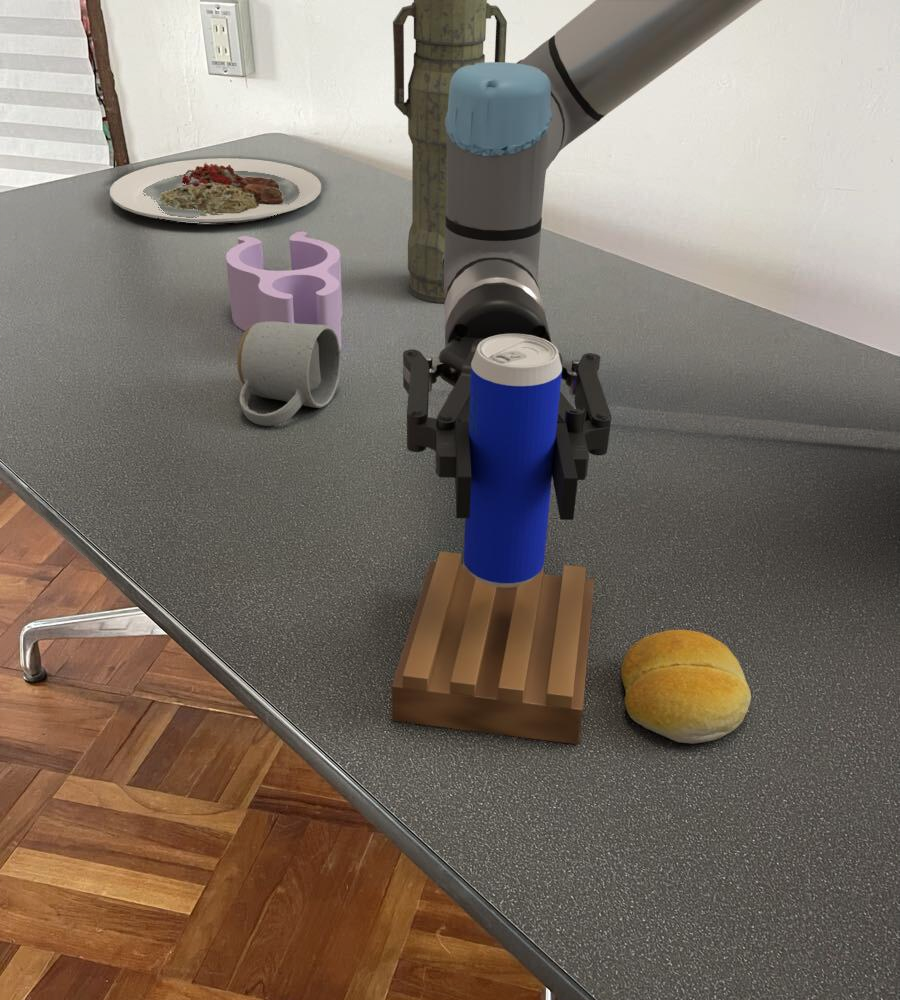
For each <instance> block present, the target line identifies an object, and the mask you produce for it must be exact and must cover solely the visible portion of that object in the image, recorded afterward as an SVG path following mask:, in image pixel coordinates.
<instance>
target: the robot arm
mask: <svg viewBox="0 0 900 1000" xmlns="http://www.w3.org/2000/svg"><path fill="white" fill-rule="evenodd" d="M762 1H763V0H593V2H592V3H590V4H589V5H588V6H587V7H585V8H584V9H583V10H581V12H579V13H578V14H577V15H576V16H574V17H573V18H572V19H571V20H570V21H568V22H567V23H566V24H565V25H564V26H562V27H561V28H560V29H558V30H557V31H556V32H555V34H553V36H551V37H550V38H548V39H547V40H545V41H544V42H543V43H542V44H540V45H539V46H538V47H536V48H535V49H534V50H533V51H532V52H531V53H529V54H528V55H527V56H526V57H524V58H523V59H519V60H518V61H517V62H506V61H505V62H495V61H488V62H486V61H485V63H476V64H474V65H468V66H464V67H462V68H460V69H459V70H457V71H456V72H455V73H454V75H453V76H452V78H451V81H450V89H449V101H448V112H447V113H446V117H445V126H446V132H447V164H446V222H445V243H444V255H443V260H442V264H443V266H442V269H443V271H442V284H443V287H444V293H445V303H443V304H444V305H443V307H444V308H443V309H444V342H445V343H444V348H443V349H441V351H440V353H439V355H438V357H432V356H429V355H428V356H427V355H426V356H424V354H422V352H421V351H420V350H418V349H414V348H413V349H411V348H410V349H407V350H404V351H403V352H402V363H403V364H402V387H403V388H404V390H405V392H406V393H407V394H408V397H407V404H406V405H407V406H406V407H407V408H406V449H407V450H408V451H409V452H412V453H422V452H424V451H425V450H426V449H427V448H428V449H431V450H433V451H434V452H435V474H436V475H437V476H438V478H454V481H455V482H454V487H455V488H454V490H455V513H456V515H455V516H456V519H465V518H470V500H471V460H470V443H469V407H470V381H471V363H472V360H473V357H474V355H475V352H476V349H477V346H478V344H479V343H480V342H481V341H482V340H484V339H486V338H488V337H491V336H495V335H500V334H525V335H531V336H536V337H539V338H542V339H545V340H547V341H549V342H551V343H552V339H551V338H552V337H551V334H550V330H549V325H548V320H547V314H546V311H545V307H544V302H543V298H542V294H541V290H540V285H539V264H540V263H539V261H540V250H541V248H540V247H541V237H542V235H541V234H542V223H543V217H542V215H543V204H544V194H545V184H546V174H547V170H548V169H549V167H550V165H551V164H552V163H553V161H554V160H555V159H556V157H557V156H558V154H559V153H560V152H561V151H562V150H564V149H565V147H567V146H568V145H569V144H571V143H572V142H573V141H575V140H576V139H578V138H579V137H580V136H581V135H583V134H584V133H585V132H587V131H589V129H591V128H593V127H594V126H595V125H597V123H599V122H600V121H601V120H602V119H603V118H604V117H606V116H607V115H608V114H609V113H611V112H612V111H614V110H615V109H617V108H618V107H619V106H621V105H622V104H623V103H624V102H626V101H627V100H629V99H630V98H632V97H633V96H635V95H636V94H637V93H638V92H640V91H641V90H643V89H644V88H645V87H647V86H648V85H649V84H650V83H652V82H653V81H654V80H656V79H657V78H658V77H660V76H661V75H663V74H664V73H666V72H667V71H668V70H669V69H671V68H672V67H674V66H675V65H676V64H678V63H679V62H680V61H682V60H683V59H684V58H686V57H687V56H688V55H690V54H691V53H692V52H694V51H695V50H697V49H698V48H699V47H701V46H702V45H703V44H705V43H706V42H707V41H709V40H710V39H712V38H713V37H714V36H716V35H717V34H718V33H720V32H721V31H722V30H724V29H725V28H726V27H728V26H729V25H731V24H732V23H733V22H735V21H736V20H738V18H740V17H741V16H743V15H744V14H745V13H747V12H748V11H750V10H751V9H752V8H753V7H755V6H756V5H758V4H759V3H761V2H762ZM558 353H559V357H560V361H561V365H562V375H561V380H563V381H564V382H565V385H566V386H567V387H569V388H568V394H569V395H570V396H574V399H573V400H574V401H573V402H574V406H575V408H574V406H573V405H572V404H571V403H570V402H569V399H567V398H566V397H565V395H564V394H563V393H562V392H561V391H560V397H559V407H558V418H557V429H556V439H555V450H554V460H553V471H552V481H553V482H552V483H553V487H554V493H555V498H556V506H557V509H558V515H559V521H564V520H565V521H574V517H575V509H576V500H577V499H576V498H577V492H578V491H577V490H578V482H579V481H585V479H586V478H587V477H588V469H589V460H590V455H593V456H604V455H606V454H607V453H608V449H609V448H608V447H609V440H610V432H611V425H612V413H611V410H610V408H609V404H608V402H607V399H606V396H605V393H604V390H603V387H602V383H601V381H600V378H599V373H600V372H599V371H600V366H601V365H600V364H601V356H600V355H599V354H597V353H593V352H587V353H584V354H583V355H582V357H580V359H578V358H577V359H576V358H575V359H572V361H571V360H564V359H563V356H562V354H561V352H559V351H558ZM439 377H440V379H442V380H443V381H444V382H446V383H447V384H449V385H450V386H452V387H453V388H452V390H451V391H450V393H449V394H448V397H447V398H446V400H445V402H444V404H443V405H442V407H441V408H440V411H439V412H438V414H437V416H436V418H435V417H431V416H430V417H429V403H430V401H429V399H430V393H431V392H432V391H433V385H434V384H436V383H437V380H438V378H439Z"/></svg>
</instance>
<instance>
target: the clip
mask: <svg viewBox="0 0 900 1000" xmlns="http://www.w3.org/2000/svg"><path fill="white" fill-rule="evenodd" d="M308 233H309V232H307V231H296V232H295V233H293V234H292V235H290V237H289V240H288V241H289V253H290V254H289V255H290V270H269V269H265V267H264V266H265V264H264V255H263V253H264V252H263V243H262V240H260V239H259V238H256V237H253V236H249V235H241V236H238V237H237V244H236V245H235V246H233V247H232V248H230V249H229V250H228V251H227V253H226V255H225V262H226V273H227V281H228V291H229V301H230V310H231V319H232V322H233V324H234V325H235V326H236V327H237V328H238V329H239V330H242V331H244V332H245V331H246V330H247V329H248V328H249V327H250V326H251V325H253V324H255V323H259V322H268V321H273V322H285V323H297V324H314V325H326V326H329V327H331V328H332V329H333V330H334V332H335V333H336V335H337V337H338V341H339V346H340V352H341V350H342V348H343V345H342V344H343V341H342V319H343V316H344V315H343V314H344V313H343V312H344V311H343V292H342V291H343V290H342V266H341V265H342V263H341V262H342V261H341V251H340V250H339V248H338V247H336V246H335V245H333V244H331V243H329V242H327V241H324V240H320V239H316V238H312V237H309V235H308Z"/></svg>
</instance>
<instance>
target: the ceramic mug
mask: <svg viewBox="0 0 900 1000" xmlns="http://www.w3.org/2000/svg"><path fill="white" fill-rule="evenodd" d="M341 361H342V359H341V351H340V346H339V341H338V337H337V335H336V333H335V332H334V330H333V329H332V328H331V327H329V326H326V325H314V324H297V323H285V322H273V321H268V322H259V323H255V324H253V325H251V326H250V327H249V328H248V329H247V330H246V331H244V332H243V335H242V337H241V339H240V341H239V345H238V348H237V355H236V366H237V367H236V369H237V374H238V378H239V380H240V382H241V384H242V387H241V389H240V393H239V404H240V405H239V406H240V408H241V410H242V412H243V414H244V416H245V417H246V419H248V420H249V421H250V422H252V423H254V424H255V425H258V426H263V427H273V426H276V425H277V426H278V425H280V424H283V423H285V422H287V421H289V420H290V419H291V418H292V417H294V416H295V414H296V413H297V412H299V410H300V409H301V407H302V406H304V407H310V408H316V409H321V408H323V407H325V406H327V405H328V404H329V403H330V402H331V401H332V399H333V397H334V395H335V394H336V391H337V388H338V384H339V380H340V376H341V366H342V363H341ZM252 394H253V395H255V396H258V397H260V398H263V399H265V398H266V399H270V400H276V401H281V402H286V404H284V405H283V406H282V407H280V408H279V409H277V410H274V411H271V412H268V413H257V412H256V411H255V410H253V409H250V407H249V406H248V405H249V401H250V398H251V396H252Z"/></svg>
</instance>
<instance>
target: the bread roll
mask: <svg viewBox="0 0 900 1000" xmlns="http://www.w3.org/2000/svg"><path fill="white" fill-rule="evenodd" d="M620 671H621V672H620V673H621V680H622V683H623V687H624V690H625V696H624V705H625V709H626V711H627V714H628V715H629V717H630V718H631V720H633V721H634V723H637V724H638V725H640V726H642V727H643V728H644V729H647V730H649V731H651V732H653V733H656V734H658V735H660V736H662V737H665V738H667V739H670V740H672V741H674V742H677V743H683V744H684V743H685V744H693V745H694V744H701V743H707V742H712V741H716V740H719V739H721V738H723V737H724V736H726V735H728V734H731V732H734V730H736V729H737V728H738V727H740V725H741V724H742V723H743V721H744V720H745V717H746V715H747V713H748V711H749V707H750V706H751V700H752V695H751V694H752V693H751V689H750V687H749V685H748V683H747V679H746V676H745V674H744V671H743V668H742V667H741V665H740V662H739V660H738V659H737V657H736V656H735V655H734V654H733V652H732V651H731V650H730V648H728V646H727V645H726V644H724V643H723V642H721V641H720V640H718V639H716V638H714V637H713V636H710V635H708V634H706V633H704V632H702V631H696V630H688V629H670V630H664V631H660V632H656V633H652V634H650V635H647V636H645V637H642V638H641V639H639V640H638V641H636V642H635V643H634V644H633V645H631V646H630V648H629V649H628V650H627V652H626V654H625V656H624V658H623V660H622V664H621V667H620Z"/></svg>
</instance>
